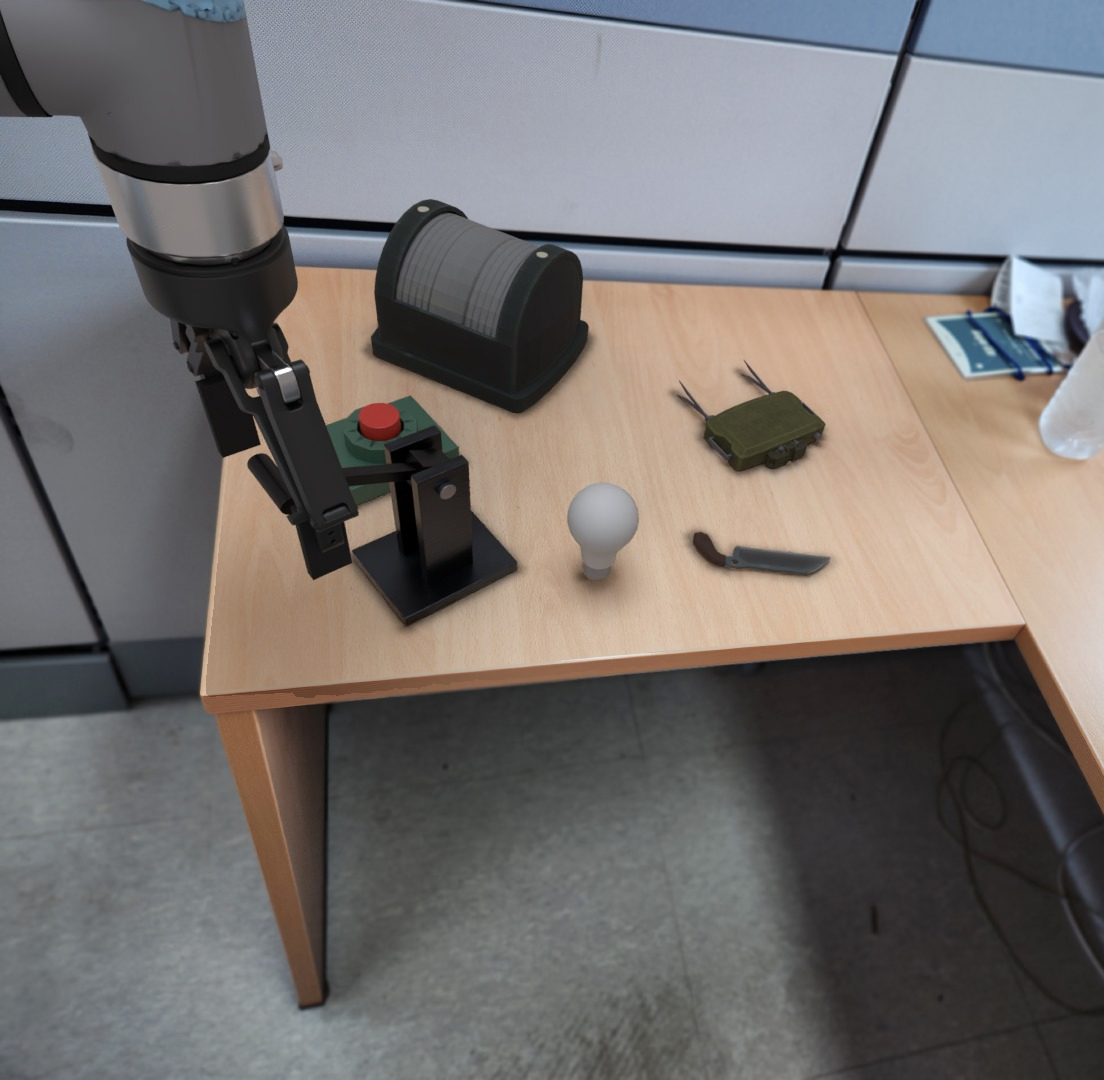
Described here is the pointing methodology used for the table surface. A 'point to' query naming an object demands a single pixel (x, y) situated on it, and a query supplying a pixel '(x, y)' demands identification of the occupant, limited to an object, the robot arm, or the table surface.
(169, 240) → the robot arm
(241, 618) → the table surface
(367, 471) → the switch lever
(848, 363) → the table surface
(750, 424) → the landmine
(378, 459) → the button box
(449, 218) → the light fixture
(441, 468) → the switch bracket
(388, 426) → the button
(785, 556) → the knife
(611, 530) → the lightbulb
